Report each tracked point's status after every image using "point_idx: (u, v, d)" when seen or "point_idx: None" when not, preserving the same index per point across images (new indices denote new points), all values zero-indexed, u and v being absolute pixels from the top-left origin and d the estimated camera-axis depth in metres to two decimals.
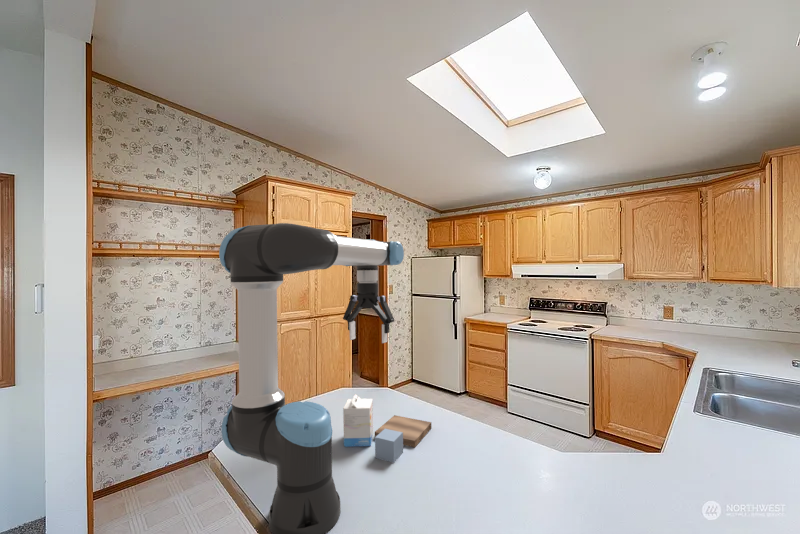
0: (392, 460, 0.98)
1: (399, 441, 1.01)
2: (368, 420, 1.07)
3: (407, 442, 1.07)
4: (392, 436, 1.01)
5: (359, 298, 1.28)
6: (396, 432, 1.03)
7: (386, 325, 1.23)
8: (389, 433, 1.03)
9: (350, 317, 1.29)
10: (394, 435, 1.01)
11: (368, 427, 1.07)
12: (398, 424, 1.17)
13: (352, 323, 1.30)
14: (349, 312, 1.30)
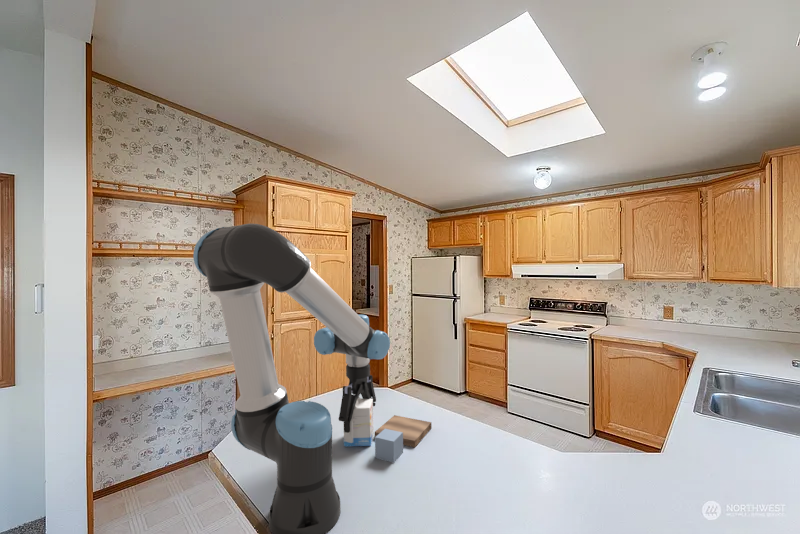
0: (392, 460, 0.98)
1: (399, 441, 1.01)
2: (368, 420, 1.07)
3: (407, 442, 1.07)
4: (392, 436, 1.01)
5: None
6: (396, 432, 1.03)
7: None
8: (389, 433, 1.03)
9: None
10: (394, 435, 1.01)
11: (368, 427, 1.07)
12: (398, 424, 1.17)
13: None
14: (369, 394, 1.18)
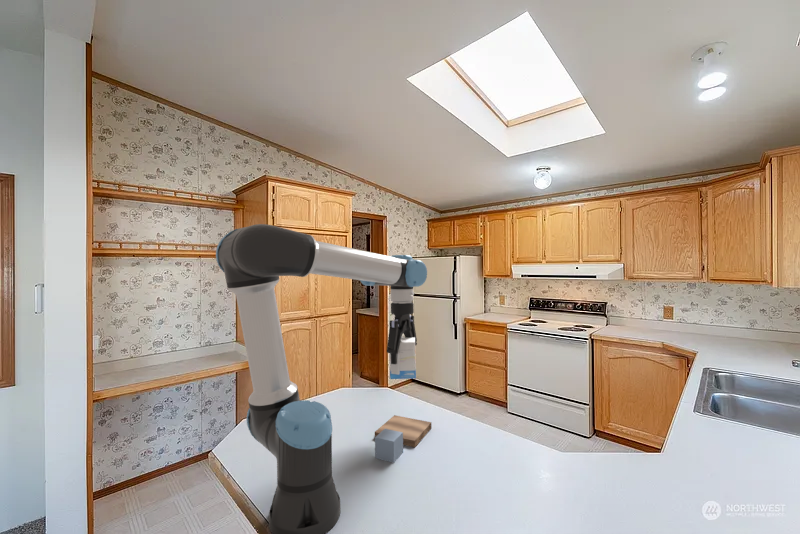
0: (392, 460, 0.98)
1: (399, 441, 1.01)
2: (414, 353, 1.11)
3: (407, 442, 1.07)
4: (392, 436, 1.01)
5: None
6: (396, 432, 1.03)
7: None
8: (389, 433, 1.03)
9: None
10: (394, 435, 1.01)
11: (413, 360, 1.11)
12: (398, 424, 1.17)
13: None
14: None
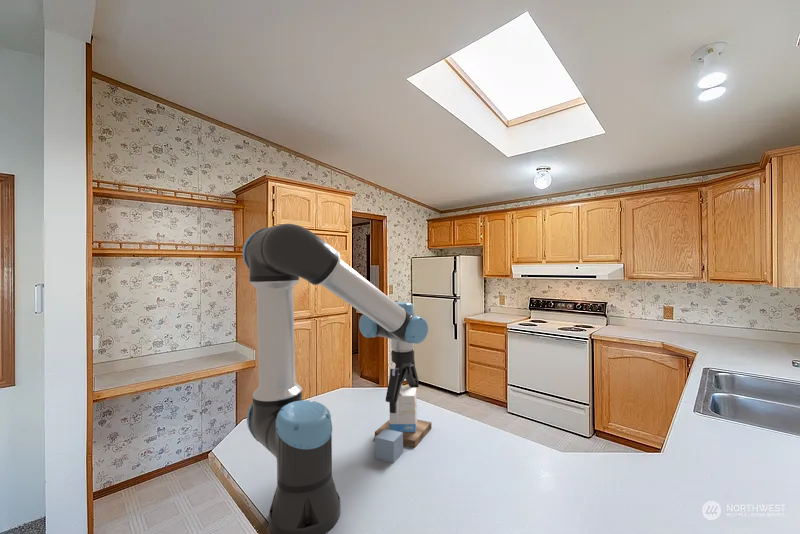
0: (392, 460, 0.98)
1: (399, 441, 1.01)
2: (413, 407, 1.11)
3: (407, 442, 1.07)
4: (392, 436, 1.01)
5: None
6: (396, 432, 1.03)
7: None
8: (389, 433, 1.03)
9: None
10: (394, 435, 1.01)
11: (413, 414, 1.11)
12: None
13: None
14: None
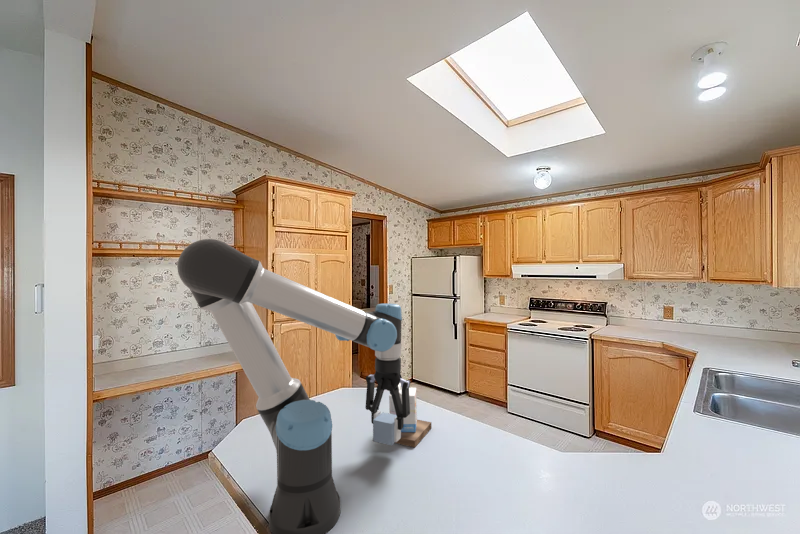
0: (390, 443, 0.98)
1: None
2: (413, 407, 1.11)
3: (407, 442, 1.07)
4: (390, 419, 1.00)
5: (377, 376, 1.02)
6: (394, 415, 1.03)
7: (400, 420, 0.99)
8: (388, 416, 1.02)
9: (373, 406, 1.02)
10: (392, 419, 1.01)
11: (413, 414, 1.11)
12: None
13: (377, 415, 1.03)
14: (371, 398, 1.04)
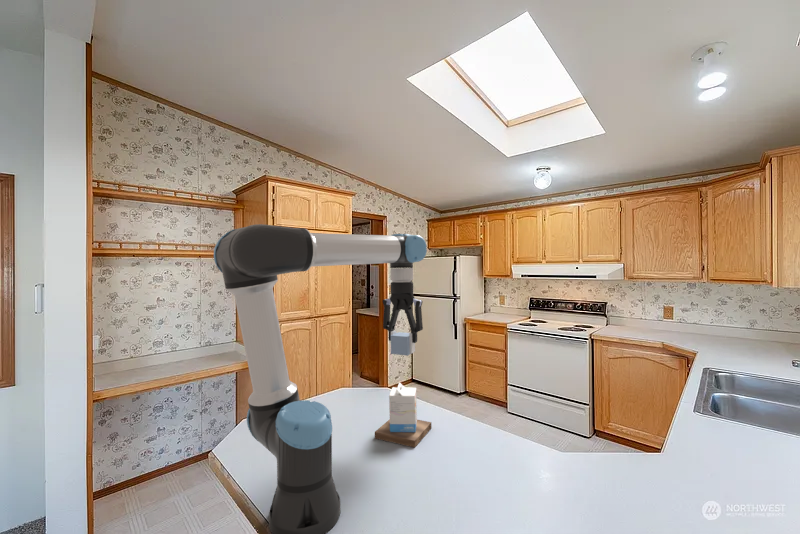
0: (406, 353, 1.12)
1: None
2: (413, 407, 1.11)
3: (407, 442, 1.07)
4: (405, 335, 1.14)
5: (393, 298, 1.16)
6: None
7: (414, 334, 1.13)
8: (403, 333, 1.16)
9: (390, 325, 1.16)
10: (407, 334, 1.15)
11: (413, 414, 1.11)
12: None
13: (393, 333, 1.16)
14: (387, 319, 1.17)
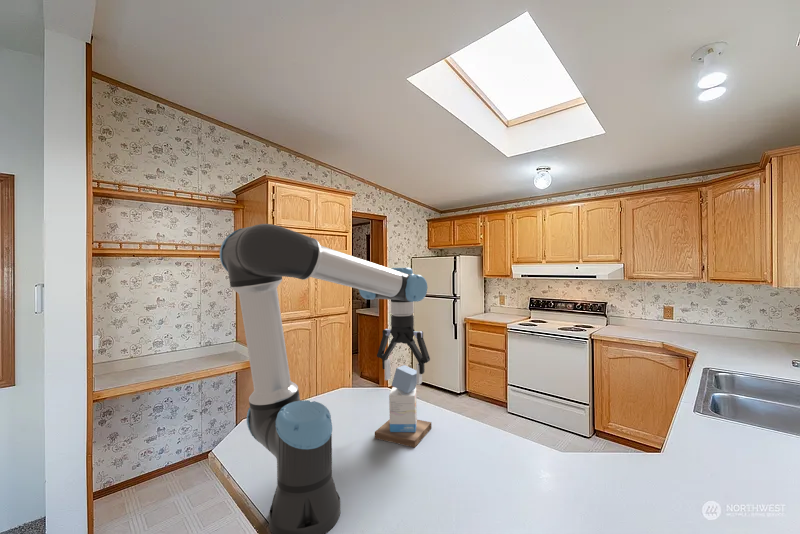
0: (406, 390, 1.12)
1: (415, 377, 1.15)
2: (413, 407, 1.11)
3: (407, 442, 1.07)
4: (411, 372, 1.14)
5: (393, 332, 1.16)
6: (414, 370, 1.17)
7: (421, 365, 1.12)
8: (408, 369, 1.16)
9: (385, 354, 1.17)
10: (413, 372, 1.14)
11: (413, 414, 1.11)
12: None
13: (387, 361, 1.17)
14: (383, 348, 1.18)
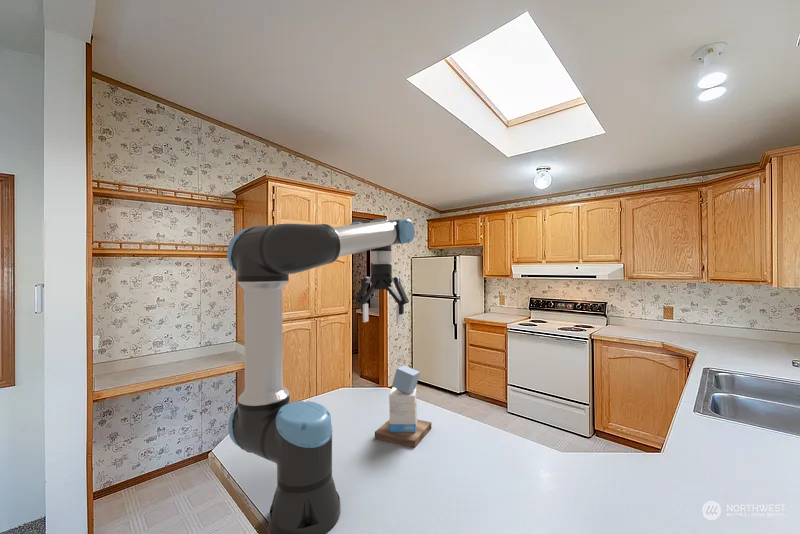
0: (407, 391, 1.11)
1: (416, 378, 1.15)
2: (413, 407, 1.11)
3: (407, 442, 1.07)
4: (411, 372, 1.14)
5: (373, 279, 1.26)
6: (414, 370, 1.16)
7: (400, 306, 1.22)
8: (409, 369, 1.16)
9: (363, 299, 1.28)
10: (413, 372, 1.14)
11: (413, 414, 1.11)
12: None
13: (365, 305, 1.28)
14: (362, 294, 1.29)
